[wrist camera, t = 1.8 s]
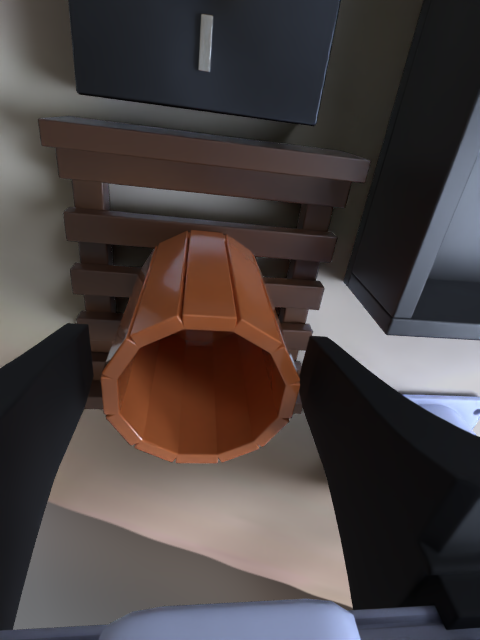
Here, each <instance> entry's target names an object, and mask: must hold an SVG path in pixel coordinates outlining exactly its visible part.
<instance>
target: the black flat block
mask: <svg viewBox="0 0 480 640" xmlns="http://www.w3.org/2000/svg"><path fill="white" fill-rule="evenodd" d="M68 2H69V13H70V24H71V36H72V47H73V58H74V69H75V80H76V91H77V93H78V94H81V95H88V96H95V97H103V98H110V99H117V100H125V101H132V102H139V103H147V104H154V105H161V106H169V107H176V108H184V109H191V110H198V111H206V112H213V113H220V114H228V115H235V116H242V117H250V118H257V119H264V120H272V121H279V122H286V123H294V124H301V125H308V126H315V125H316V124H317V119H318V113H319V108H320V103H321V98H322V93H323V88H324V83H325V78H326V73H327V68H328V63H329V58H330V53H331V48H332V43H333V38H334V33H335V28H336V23H337V18H338V13H339V8H340V3H341V0H68Z"/></svg>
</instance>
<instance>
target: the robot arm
mask: <svg viewBox="0 0 480 640" xmlns="http://www.w3.org/2000/svg"><path fill="white" fill-rule="evenodd" d="M93 377H94V374H93V364H92V355H91V345H90V336H89V326H88V324H71V323H68V324H66V325H64V326H63V327H61V328H60V329H58V330H57V331H55V332H54V333H53V334H51V335H50V336H48V337H47V338H45V339H44V340H43V341H41V342H40V343H38V344H37V345H35V346H34V347H32V348H31V349H29V350H28V351H27V352H25V353H24V354H22V355H21V356H19V357H18V358H16V359H14V360H13V361H11V362H9V363H8V364H6V365H5V366H3V367H1V368H0V640H480V437H478V436H477V435H476V434H475V433H474V432H473V431H472V430H473V428H474V426H475V425H476V423H477V421H478V420H479V418H480V397H470V396H439V395H407V394H400V393H399V392H397V391H396V390H395V389H393V388H392V387H390V386H389V385H388V384H386V383H385V382H383V381H382V380H381V379H379V378H378V377H377V376H375V375H374V374H373V373H371V372H370V371H369V370H368V369H366V368H365V367H364V366H363V365H361V364H360V363H359V362H358V361H357V360H355V359H354V358H353V357H352V356H350V355H349V354H348V353H347V352H346V351H344V350H343V349H342V348H341V347H340V346H338V345H337V344H336V343H335V342H333V341H332V340H331V339H329V338H328V337H320V336H309V340H308V344H307V348H306V352H305V356H304V360H303V364H302V367H301V371H300V375H299V378H300V381H299V382H300V388H299V393H300V398H301V403H302V407H303V411H304V414H305V417H306V419H307V422H308V425H309V428H310V431H311V434H312V436H313V439H314V442H315V445H316V448H317V450H318V453H319V456H320V459H321V462H322V464H323V468H324V471H325V474H326V477H327V481H328V485H329V489H330V493H331V498H332V502H333V506H334V510H335V515H336V520H337V524H338V529H339V534H340V538H341V543H342V549H343V554H344V559H345V564H346V570H347V575H348V581H349V587H350V593H351V599H352V605H353V610H349V611H347V610H345V609H344V608H342V607H341V606H339V605H337V604H336V603H334V602H332V601H325V600H314V599H292V600H273V601H254V602H234V603H216V604H196V605H177V606H162V607H156V608H151V609H145V610H139V611H133V612H131V613H129V614H127V615H125V616H123V617H121V618H119V619H117V620H115V621H113V622H111V623H110V624H107V625H90V626H89V625H88V626H73V627H72V626H71V627H54V628H37V629H20V630H13V626H14V622H15V618H16V614H17V610H18V606H19V602H20V597H21V594H22V590H23V586H24V582H25V579H26V575H27V571H28V567H29V563H30V560H31V556H32V552H33V548H34V545H35V542H36V538H37V535H38V531H39V528H40V525H41V521H42V517H43V514H44V511H45V508H46V504H47V501H48V498H49V495H50V492H51V488H52V485H53V482H54V479H55V476H56V474H57V471H58V468H59V466H60V463H61V461H62V459H63V456H64V454H65V452H66V450H67V447H68V445H69V443H70V440H71V438H72V436H73V433H74V431H75V429H76V426H77V424H78V422H79V419H80V417H81V415H82V412H83V410H84V407H85V405H86V402H87V399H88V395H89V392H90V388H91V384H92V380H93Z"/></svg>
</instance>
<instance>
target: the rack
mask: <svg viewBox="0 0 480 640" xmlns="http://www.w3.org/2000/svg"><path fill="white" fill-rule="evenodd" d="M38 124H39V131H40V138H41V145H42V146H45V147H54V148H55V149H56V157H57V165H58V173H59V177H60V178H62V179H71V180H72V186H73V195H74V205H75V207H69V208H68V209H66V210H65V211H64V212H63V215H64V223H65V231H66V239H67V241H75V242H79V252H80V261H81V263H75V264H74V265H73V266H72V268H71V269H70V273H71V281H72V289H73V294H79V295H84V299H85V309H86V311H81V312H80V313H79V315H78V317H77V319H76V320H77V324H88V326H89V336H90V345H91V355H92V364H93V374H94V377H93V380H92V384H91V388H90V392H89V395H88V399H87V402H86V405H85V407H84V409H103V401H102V390H101V379H100V378H101V375H102V371H103V368H104V365H105V363H106V360H107V357H108V355H109V352H110V349H111V347H112V344H113V341H114V339H115V336H116V333H117V331H118V328H119V325H120V323H121V320H122V317H123V315H124V313H116V304H115V297H126V298H130V296H131V293H132V291H133V288H134V285H135V283H136V280H137V277H138V275H139V272H140V269H141V268H140V267H127V266H114V265H113V253H112V245H123V246H135V247H147V248H155V247H156V246H158V244H159V243H161V242H163V241H165V240H168V239H170V238H172V237H174V236H176V235H178V234H181V233H183V232H185V231H188V232H190V231H191V230H197V231H208V232H219V233H223V235H226V234H227V235H229V236H230V237H231V238H233V239H234V240H236V241H237V242H239V243H240V244H241V245H243V246H244V247H246V248H247V249H249V250H250V251H251V252H252V254H254V256H256V257H268V258H280V259H290V264H289V269H288V274H287V279H286V278H273V277H264V279H265V282H266V285H267V288H268V291H269V293H270V296H271V299H272V302H273V305H274V307H281V309H280V314H279V322H280V324H281V327H282V330H283V333H284V336H285V338H286V341H287V344H288V347H289V350H290V352H291V355H292V358H293V361H294V364H295V367H296V369H297V372H298V375H300V371H301V367H302V365H301V363H300V361H296V359H297V355H298V351H299V350H304V351H306V348H307V344H308V340H309V336H312V333H313V331H312V329H311V327H310V325H309V324H305V322H306V318H307V314H308V310H309V309H313V310H319V307H320V303H321V300H322V296H323V292H324V286H323V285H322V283H321V282H320V281H316V277H317V273H318V269H319V265H320V262H328V263H330V262H331V261H332V257H333V253H334V249H335V245H336V242H337V236H336V235H335V234H334V233H332V232H328V228H329V224H330V220H331V216H332V212H333V207H337V208H345V206H346V203H347V199H348V195H349V191H350V187H351V183H352V182H356V183H365V181H366V178H367V174H368V171H369V167H370V163H371V160H369V159H365V158H362V157H359V156H356V155H353V154H350V153H347V152H344V151H339V150H331V149H323V148H315V147H307V146H299V145H292V144H284V143H276V142H268V141H260V140H253V139H245V138H237V137H229V136H221V135H213V134H206V133H198V132H190V131H182V130H174V129H166V128H159V127H151V126H143V125H135V124H127V123H120V122H112V121H104V120H96V119H88V118H80V117H73V116H62V117H51V118H39V119H38ZM108 183H109V184H119V185H128V186H138V187H147V188H157V189H166V190H176V191H185V192H195V193H204V194H214V195H223V196H233V197H242V198H252V199H261V200H271V201H280V202H290V203H299V204H301V209H300V214H299V219H298V224H297V229H295V228H285V227H274V226H264V225H253V224H243V223H232V222H222V221H211V220H201V219H191V218H180V217H170V216H159V215H149V214H138V213H128V212H117V211H110V202H109V185H108ZM302 408H303V407H302V403H301V398H300V393H299V392H298V396H297V400H296V404H295V407H294V411H293V414H301V412H302Z"/></svg>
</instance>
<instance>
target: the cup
mask: <svg viewBox="0 0 480 640" xmlns="http://www.w3.org/2000/svg"><path fill="white" fill-rule="evenodd" d="M100 379H101V390H102V401H103V412H104V414H105V415H106V419H107V420H108V421H109V422H110V423H111V424H112V426H113V427H114V428H115V429H116V430H117V431H118V432H119V433H120V434H121V436H122V437H123V438H124V439H125V440H126V441H127V442H128V443H129V444H130V445H134V444H135V446H134V448H135V449H138V450H141V451H143V452H146V453H148V454H151V455H154V456H156V457H159V458H161V459H164V460H166V461H169V462H173V461H174V460H175V459H176V463H218V459H219V460H220V461H221V462H225V461H228V460H231V459H233V458H236V457H239V456H242V455H244V454H247V453H250V452H253V451H256V450H258V449H259V446H261V447H263V446H264V445H265V444H267V443H268V442H269V441H270V440H271V439H272V438H273V437H274V436H275V435H276V434H277V433H278V432H279V431H280V430H281V429H282V428H283V427H284V426H286V425H287V424H288V423H289V418H292V415H293V411H294V407H295V404H296V400H297V396H298V392H299V388H300V382H299V381H300V378H299V375H298V372H297V369H296V367H295V364H294V361H293V358H292V355H291V352H290V350H289V347H288V344H287V341H286V338H285V336H284V333H283V330H282V327H281V324H280V322H279V319H278V316H277V313H276V310H275V307H274V305H273V302H272V299H271V296H270V293H269V291H268V288H267V285H266V282H265V279H264V277H263V275H262V272H261V270H260V268H259V265H258V263H257V261H256V258H255V256H254V254H252V252H251V251H250V250H249V249H247V248H246V247H244V246H243V245H241V244H240V243H239V242H237V241H236V240H234V239H233V238H231V237H230V236H229V235H227V234H226V235H223V233H219V232H208V231H197V230H191V231H190V232H188V231H185V232H183V233H181V234H178V235H176V236H174V237H172V238H170V239H168V240H165V241H163V242H161V243H159V244H158V246H156V247H155V248H154V250H153V251H152V253H151V254H150V256H149V257H148V259H147V260H146V262H145V263H144V265H143V266H142V268H141V269H140V272H139V275H138V277H137V280H136V283H135V285H134V288H133V291H132V293H131V296H130V299H129V301H128V304H127V307H126V309H125V312H124V315H123V317H122V320H121V323H120V325H119V328H118V331H117V333H116V336H115V339H114V341H113V344H112V347H111V349H110V352H109V355H108V357H107V360H106V363H105V365H104V368H103V371H102V375H101V378H100Z"/></svg>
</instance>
